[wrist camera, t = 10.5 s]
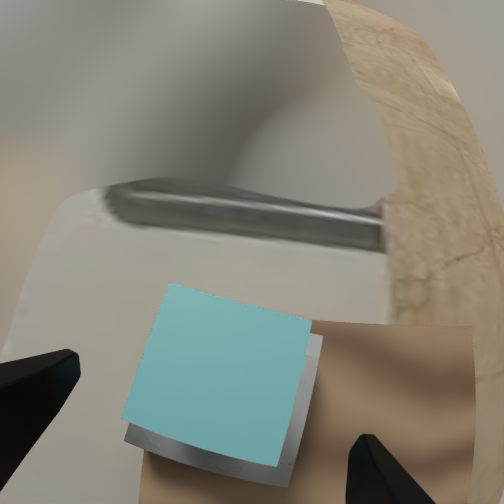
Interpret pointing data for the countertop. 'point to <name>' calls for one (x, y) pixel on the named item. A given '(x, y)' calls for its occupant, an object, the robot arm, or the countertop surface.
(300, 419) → the collar
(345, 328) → the board
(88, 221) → the countertop surface
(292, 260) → the countertop surface
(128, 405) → the block
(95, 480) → the countertop surface
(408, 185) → the countertop surface
